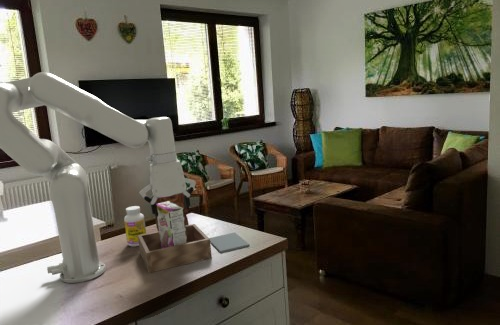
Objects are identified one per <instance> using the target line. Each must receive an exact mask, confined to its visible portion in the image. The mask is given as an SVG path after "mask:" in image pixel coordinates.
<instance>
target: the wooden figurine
mask: <svg viewBox="0 0 500 325" xmlns="http://www.w3.org/2000/svg"><path fill="white" fill-rule="evenodd" d="M183 197H184V194H183V193H181V194H177V195H172V196H167V197H162V198H158V199H157V200H156V202H155V203H156V204H158V203H162V202H166V201H170V202H172V203H174V204H176V205H178V206H180V207H182V208H183V211H184V220H185V226H186V225H190V224H189V220H188V219H189V218H188V216H187V214H189V210H186V209H185V207H184V200H183ZM154 218H155V225H156V228H157V229H156V230H157V231H159V227H158V221H157V217H156V216H155V215H154Z"/></svg>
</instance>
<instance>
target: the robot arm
mask: <svg viewBox="0 0 500 325" xmlns="http://www.w3.org/2000/svg"><path fill="white" fill-rule="evenodd" d="M43 106H45V107H47V108H49V109H51V110H53V111H56V112H58V113H59V114H62V115H64V116H65V117H68V118H69V119H71V120H74V121H76V122H77V123H79V124H82V125H83V126H84V127H88V128H90V129H93V130H94V131H97V132H98V133H100V134H102V135H104V136H106V137H108V138H110V139H112V140H114V141H116V142H117V143H120V144H122V145H124V146H126V147H128V148H133V149H138V148H140V147H143V146H144V145H145V144H146V143H147V142H148V147H149V152H150V153H149V156H146V157H145V159H146V162H149V163H150V164H149V182H150V183H149V184H148V185H146V186H145V187H143V188H142V189H141V190H140V191H139V194H140V196H141V197H142V199H144V200H145V201H146V202H147V203H149V204H150V209H151V214H152V215H154V217H155V216H156V217H158V209H157V204H156V203H155V202H156V200H157V199H158V198H162V197H167V196H172V195H177V194H181V193H183V194H184V197H183V200H184V207H185V209H186V210H188V211H190V206H191V201H190V199H191V198H190V197H191V195H192V193H193V192H194V190H195V186H196V184H197V182H196V180H194V179H190V178H187V177H185V174H184V170H183V166H182V164H181V163H182V162H181V160H179V159H177V158H178V157H177V152H176V145H175V136H174V131H173V129H174V128H173V123H172V120H171V118H170V117H169V116H168V117H167V116H159V117H157V116H156V117H151V118H148V119H134V118H132V117H130V116H128V115H126V114H124V113H122V111H121V112H120V111H119V110H117V109H115V108H114V107H111V106H110V105H108V104H107V103H105V102H104V101H102V100H101V99H100V98H98V97H97V96H95V95H94V94H91V93H89V92H87V91H85V90H84V89H81V88H79V87H78V86H76V85H74V84H72V83H70V82H68V81H66V80H65V79H63V78H61V77H59V76H57V75H55V74H53V73H50V72H46V71H41V72H37V73H35V74H33V76H30V77H27V78H26V77H25V78H22V79H17V80H16V79H15V80H10V81H6V82H5V81H4V82H3V81H0V149H1V150H2V151H3V152H4V153H5V154H7V156H8V157H10V158H11V159H12V160H13V161H14V162H15V163H17V164H18V165H19V166H20V167H21V168H22V169H23V170H24V171H26V172H27V173H29V174H31V175H32V176H36V177H37V176H38V177H39V176H40V177H41V176H42V177H44V178H45V179H46V180H47V181H48V182H49V183H50V184H49V195H50V199H51V200H50V201H51V204H52V207H53V211H54V215H55V221H56V227H57V231H58V232H57V233H58V237H59V238H58V239H59V243H60V249H61V250H60V251H61V256H62V261H61V262H59V263H58V264H57V265H51V266H47V268H46V270H47V274H51V275H52V276H55V275H58V274H59V279H60V281H62V282H63V283H68V284H78V283H83V282H86V281H87V282H88V281H89V280H90V281H91V280H93V279H95V278H97V277H99V276H101V275H102V274H104V272H105V271H106V269H107V268H106V264H105V262H103V261H100V258H99V251H98V246H97V239H96V233H95V232H96V231H95V227H94V219H93V213H92V208H91V202H90V196H89V188H88V185H89V184H88V183H89V176H88V174H87V171H86V170H85V168H84V167H82V166H81V164H79V163H78V162H77V161H76V160H75V159H74V158H72V157H71V156H70V155H69V154H68V153H67V152H66V151H64V149H62V148H61V146H60V145H58V144H56V143H55V142H54V141H51V140H50V139H46V138H40V137H38V136H37V135H36V134H35V133H34V132H32V131H31V129H29V128H28V126H26V125H25V124H23V123H22V121H20V120H18V119H17V117H15V116H14V114H13V113H15V112H20V111H24V110H29V109H34V108H38V107H43ZM186 183H187V184H189V187H188V188H187V184H186ZM149 191H151V194H152V195H151V196H148V195H147V193H148V192H149Z"/></svg>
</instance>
